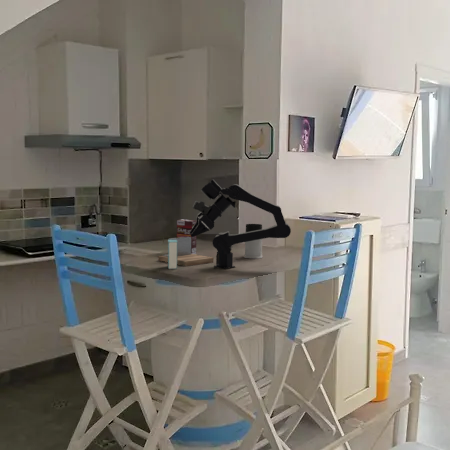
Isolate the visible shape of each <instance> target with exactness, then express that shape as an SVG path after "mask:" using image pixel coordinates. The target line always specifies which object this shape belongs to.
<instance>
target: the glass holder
mask: <svg viewBox="0 0 450 450" xmlns="http://www.w3.org/2000/svg"><path fill="white" fill-rule="evenodd" d="M261 229H263V224H262V223H246V224H245V232H250V231H256V230H261ZM243 257H244V258H246V259H262V258H264V257H263V239H259V240H254V241H248V242H244V256H243Z"/></svg>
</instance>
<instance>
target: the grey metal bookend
mask: <svg viewBox="0 0 450 450" xmlns="http://www.w3.org/2000/svg"><path fill="white" fill-rule="evenodd" d="M168 240H177V256H185V255H191V237H180V238H177V237H170V238H168V239H167V241H168ZM162 256H166V257H168V253H167V254H162Z"/></svg>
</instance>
